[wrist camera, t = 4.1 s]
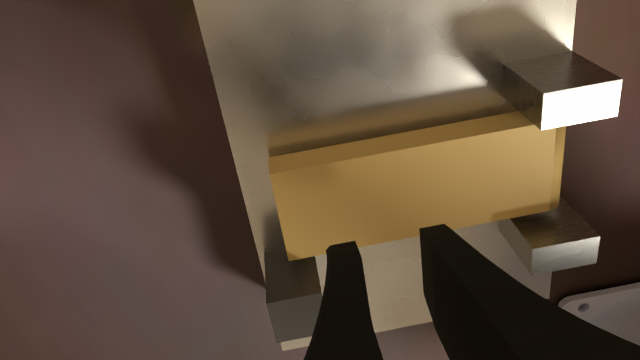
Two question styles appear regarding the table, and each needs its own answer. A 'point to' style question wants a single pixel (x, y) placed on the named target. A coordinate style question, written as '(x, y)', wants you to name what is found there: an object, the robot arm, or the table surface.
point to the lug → (292, 295)
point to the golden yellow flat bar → (416, 182)
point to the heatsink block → (402, 111)
